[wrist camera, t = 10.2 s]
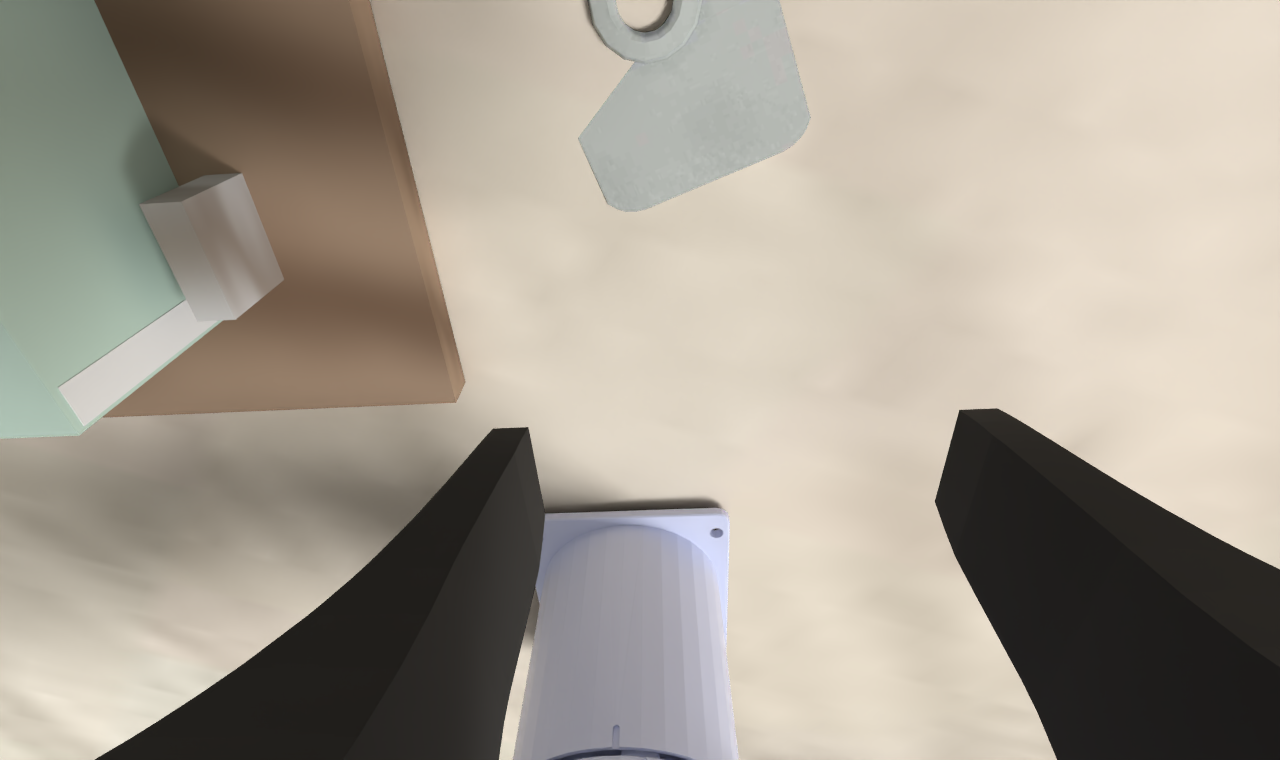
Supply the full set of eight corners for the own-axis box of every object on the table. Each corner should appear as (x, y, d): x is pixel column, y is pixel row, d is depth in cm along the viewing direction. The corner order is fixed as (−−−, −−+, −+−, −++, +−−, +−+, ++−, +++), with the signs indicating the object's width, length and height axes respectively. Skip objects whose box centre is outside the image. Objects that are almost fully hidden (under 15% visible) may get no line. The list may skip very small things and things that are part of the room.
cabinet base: (465, 382, 21) (433, 451, 18) (124, 397, 22) (36, 467, 18) (211, -630, 10) (21, -894, 7) (-459, -553, 11) (-906, -768, 8)
